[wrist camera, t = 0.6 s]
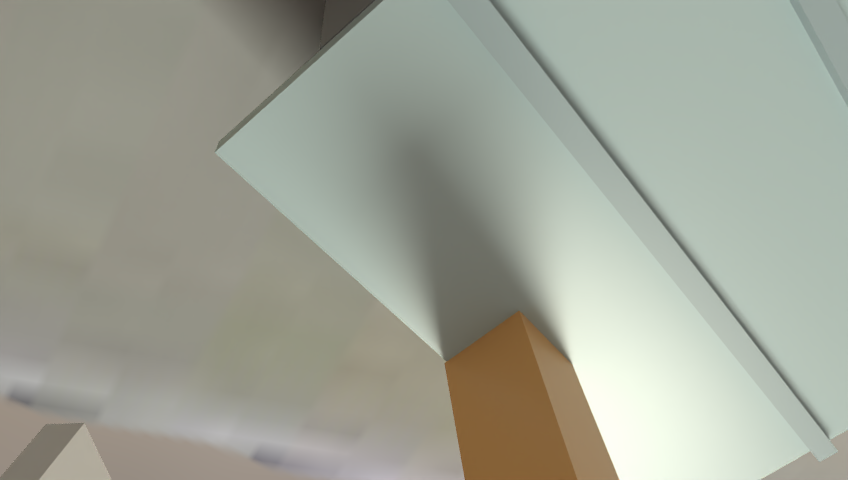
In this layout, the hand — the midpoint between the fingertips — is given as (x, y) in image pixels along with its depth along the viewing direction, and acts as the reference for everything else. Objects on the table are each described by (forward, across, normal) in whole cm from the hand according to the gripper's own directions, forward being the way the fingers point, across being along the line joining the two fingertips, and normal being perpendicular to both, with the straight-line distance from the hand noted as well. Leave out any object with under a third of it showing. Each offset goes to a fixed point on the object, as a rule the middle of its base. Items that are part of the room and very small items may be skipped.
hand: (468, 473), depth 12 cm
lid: (+14, +7, -2) cm, 16 cm away
